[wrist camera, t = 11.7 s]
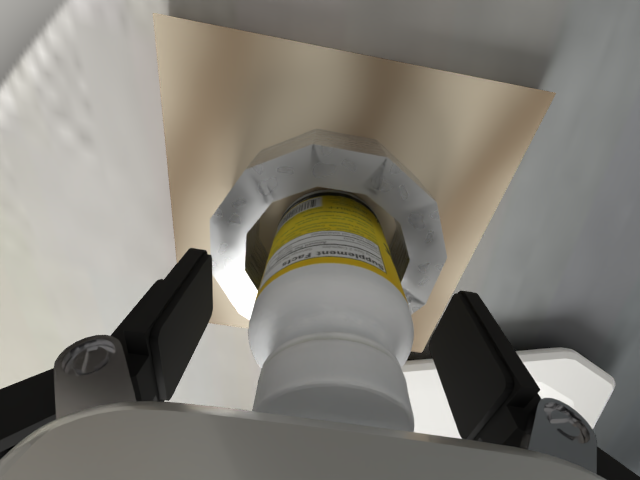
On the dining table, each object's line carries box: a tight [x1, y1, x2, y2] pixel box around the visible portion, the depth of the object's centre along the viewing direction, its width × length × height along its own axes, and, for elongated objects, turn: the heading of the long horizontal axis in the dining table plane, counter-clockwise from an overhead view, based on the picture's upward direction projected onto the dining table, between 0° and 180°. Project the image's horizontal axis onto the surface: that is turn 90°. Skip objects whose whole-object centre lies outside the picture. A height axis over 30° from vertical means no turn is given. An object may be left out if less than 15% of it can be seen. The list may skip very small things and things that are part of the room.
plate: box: [401, 347, 615, 439], centre depth 27 cm, size 25×25×2 cm
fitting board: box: [153, 13, 556, 353], centre depth 16 cm, size 16×16×1 cm
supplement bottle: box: [248, 189, 414, 432], centre depth 11 cm, size 5×5×10 cm
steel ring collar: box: [210, 129, 447, 320], centre depth 14 cm, size 10×10×3 cm
